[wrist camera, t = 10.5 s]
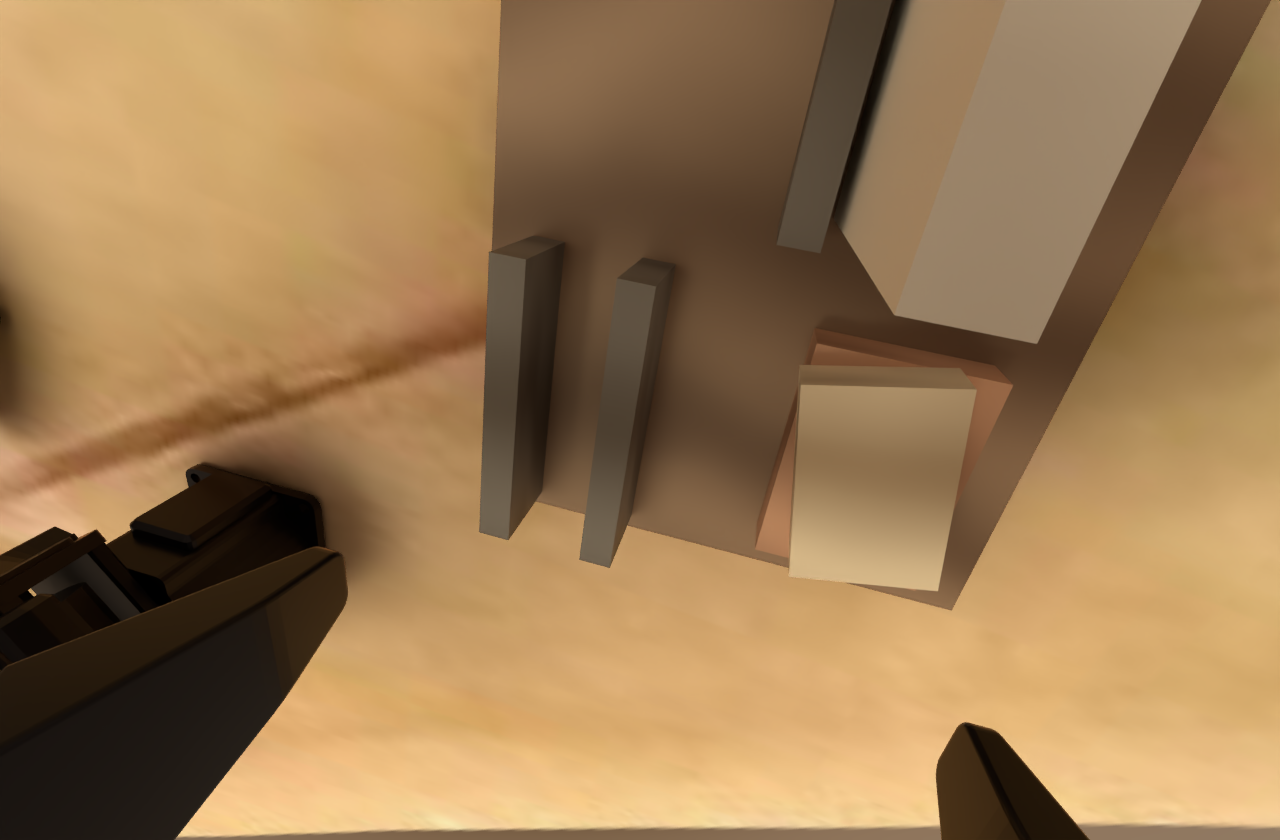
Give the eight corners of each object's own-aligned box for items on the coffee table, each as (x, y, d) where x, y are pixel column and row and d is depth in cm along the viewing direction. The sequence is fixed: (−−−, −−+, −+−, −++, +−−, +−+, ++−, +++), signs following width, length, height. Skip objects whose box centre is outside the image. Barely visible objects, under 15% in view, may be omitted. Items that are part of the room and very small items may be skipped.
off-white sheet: (894, 229, 16) (1036, 343, 7) (833, 218, 16) (894, 315, 7) (1029, -176, 12) (1702, -1050, 3) (948, -184, 12) (1371, -1026, 3)
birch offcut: (926, 558, 18) (937, 591, 16) (788, 545, 19) (789, 576, 17) (960, 367, 15) (977, 389, 14) (799, 364, 16) (800, 384, 15)
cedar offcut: (906, 560, 20) (915, 590, 18) (757, 522, 20) (754, 549, 19) (994, 365, 16) (1012, 385, 15) (814, 328, 17) (816, 343, 16)
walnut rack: (941, 581, 21) (976, 681, 17) (500, 468, 24) (442, 534, 20) (1303, -146, 12) (1547, -282, 8) (535, -220, 15) (441, -355, 11)
